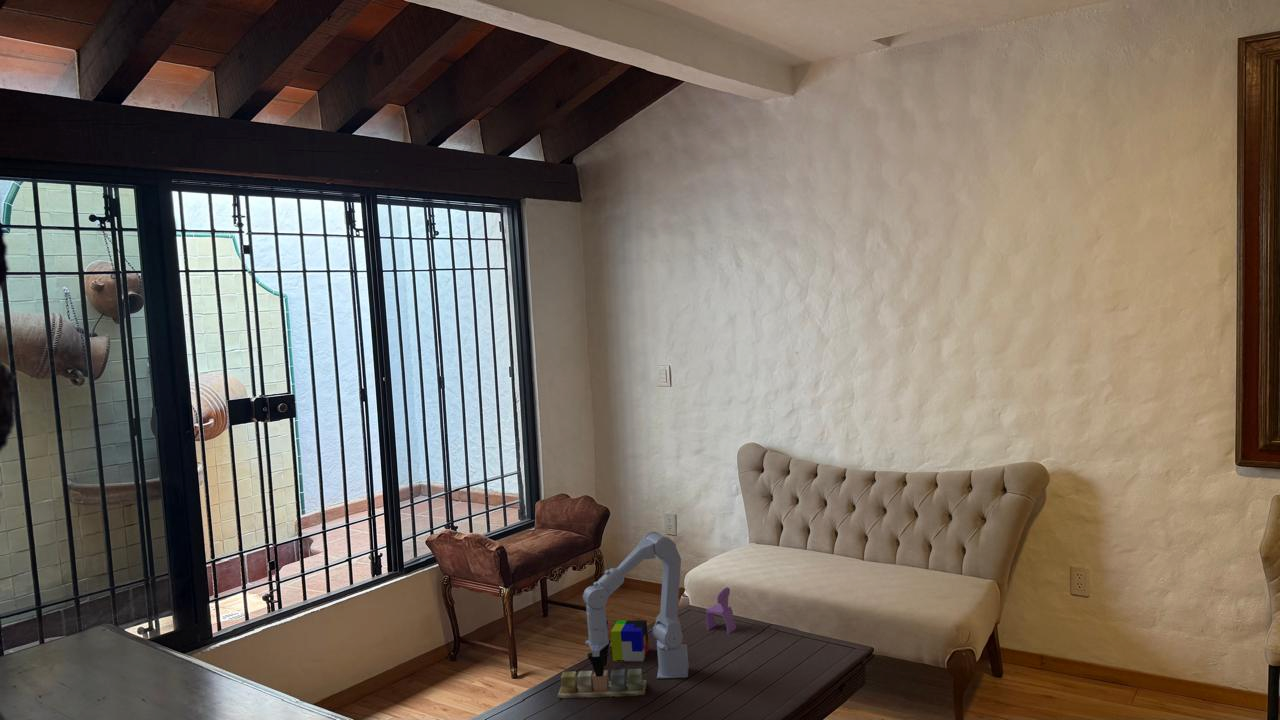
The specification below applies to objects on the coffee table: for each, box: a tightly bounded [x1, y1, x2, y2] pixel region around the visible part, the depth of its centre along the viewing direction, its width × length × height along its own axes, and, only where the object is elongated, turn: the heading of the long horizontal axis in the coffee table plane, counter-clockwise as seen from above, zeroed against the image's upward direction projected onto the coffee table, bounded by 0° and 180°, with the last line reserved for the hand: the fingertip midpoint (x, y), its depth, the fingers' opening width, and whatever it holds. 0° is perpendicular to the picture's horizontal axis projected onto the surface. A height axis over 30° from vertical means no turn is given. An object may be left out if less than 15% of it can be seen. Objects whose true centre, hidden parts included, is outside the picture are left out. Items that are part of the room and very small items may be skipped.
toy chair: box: [705, 586, 738, 635], centre depth 310 cm, size 8×9×15 cm
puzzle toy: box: [610, 619, 650, 662], centre depth 293 cm, size 10×10×10 cm
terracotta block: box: [593, 669, 609, 692], centre depth 267 cm, size 4×4×5 cm
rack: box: [557, 668, 647, 699], centre depth 267 cm, size 26×8×6 cm, turn 85°
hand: (601, 670), depth 267 cm, fingers open, 7 cm apart
